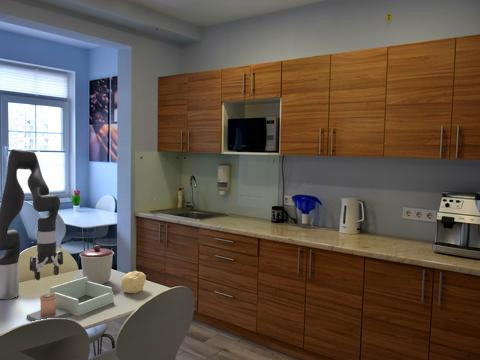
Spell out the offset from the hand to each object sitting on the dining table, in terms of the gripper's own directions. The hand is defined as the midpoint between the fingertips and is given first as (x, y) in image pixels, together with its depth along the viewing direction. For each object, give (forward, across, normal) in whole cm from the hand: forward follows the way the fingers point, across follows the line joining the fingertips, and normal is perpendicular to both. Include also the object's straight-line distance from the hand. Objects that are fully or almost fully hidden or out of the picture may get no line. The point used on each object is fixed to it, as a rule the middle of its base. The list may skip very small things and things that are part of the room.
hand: (46, 277), depth 175 cm
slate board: (+18, 0, 0) cm, 18 cm away
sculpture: (+18, -44, +7) cm, 48 cm away
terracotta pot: (+16, 0, 0) cm, 16 cm away
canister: (+18, -43, -20) cm, 51 cm away
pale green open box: (+18, -18, 0) cm, 25 cm away
